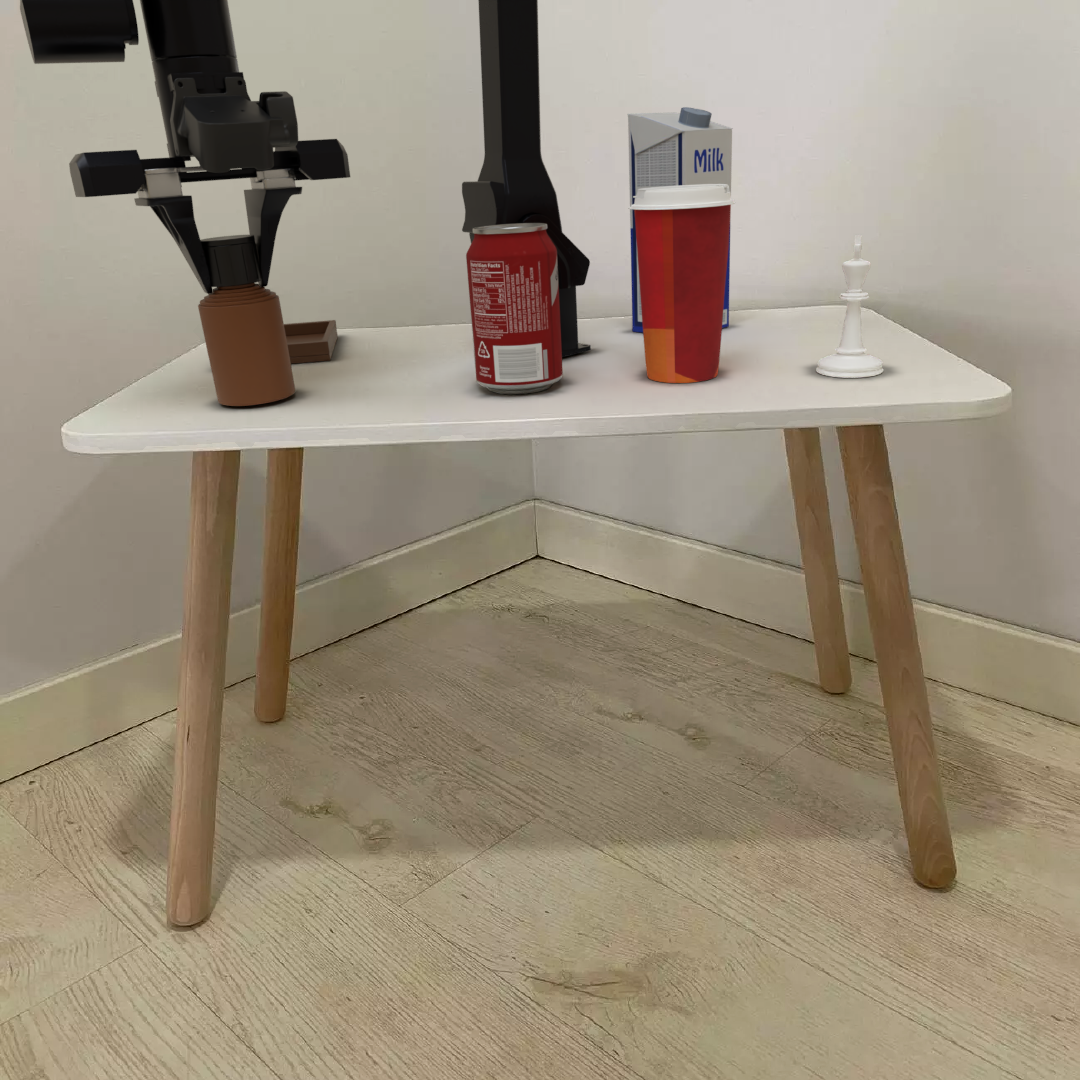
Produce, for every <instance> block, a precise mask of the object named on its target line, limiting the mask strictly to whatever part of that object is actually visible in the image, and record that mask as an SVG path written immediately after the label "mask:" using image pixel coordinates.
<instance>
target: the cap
mask: <svg viewBox="0 0 1080 1080" xmlns="http://www.w3.org/2000/svg"><path fill="white" fill-rule="evenodd" d="M200 240H201V244H202V247H203V251H204V254H205V258H206V261H207V265H208V268H209V272H210V277H211V285H212V288H217V287H228V286H238V285H245V284H251V283H256V284H257V283H258V282H259V281H261V280H262V276H261V271H260V265H259V255H258V249H257V244H256V243H255V238H254V235H250V234H235V235H234V234H233V235H224V236H213V237H208V238H207V237H206V238H203V239H200Z"/></svg>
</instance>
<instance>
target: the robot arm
mask: <svg viewBox="0 0 1080 1080" xmlns="http://www.w3.org/2000/svg"><path fill="white" fill-rule="evenodd" d="M477 2H478V23H479V24H478V25H479V46H480V69H481V71H480V72H481V97H482V119H483V121H482V122H483V142H484V143H483V146H484V157H483V158H484V159H483V163H482V166H481V168H480V172H479V175H478V179H477V181H475V180H474V181H463V182H462V183H461V194H462V195H461V196H462V200H463V205H464V212H465V213H464V222H463V225H462V228H461V231H462V233H467V234H468V233H469V234H468V235H469V241H470V244H471V243H472V241H473V239H474V233H473V228H476V227H481V226H489V225H500V224H517V223H545V224H547V229H546V233H547V235H548V236H549V238H550V239H551V241H552V242H553V244H554V245H555V247H556V249H557V263H558V285H559V306H560V328H561V349H562V358H564V357H568V356H569V357H570V356H573V355H577V354H581V353H584V352H585V353H586V352H589V351H592V346H591V344H587V343H581V342H579V330H578V305H577V304H578V303H577V301H578V300H577V287H581V286H584V285H585V284H586V280H587V277H588V272H589V270H590V269H589V268H590V264H591V261H590V259H589V258H588V257H587V255H586V254H585V253H583V252H582V250H580V249H579V248H578V246H577V245H575V244H574V243H573V241H571V239H570V238H569V237H568V236H567V235H566V234H565V233H564V232H563V227H562V220H561V214H560V207H559V203H558V195H557V191H556V189H555V187H554V185H553V182H552V179H551V177H550V175H549V172H548V171H547V168H546V165H545V163H544V160H543V157H542V147H541V146H542V144H541V141H542V140H541V138H542V137H541V99H540V97H541V96H540V94H541V93H540V48H539V46H540V45H539V43H540V42H539V1H538V0H478V1H477ZM139 4H140V8H141V13H142V19H143V25H144V30H145V35H146V39H147V44H148V48H149V54H150V59H151V65H152V70H153V75H154V86H155V92H156V96H157V98H158V101H159V106H160V111H161V116H162V117H161V118H162V121H163V127H164V132H165V136H166V148H167V152H168V157H155V158H140V155H139V152H138V150H137V149H124V150H105V151H104V150H103V151H88V152H87V151H85V152H81V153H76V154H74V156H73V157H72V158H71V160H70V161H69V163H68V166H69V173H70V178H71V183H72V186H73V190H74V191H73V192H74V195H75V198H93V197H105V196H106V197H108V196H109V197H110V196H120V195H121V196H122V195H134V194H137V196H138V197H136V198H134V204H135V207H150V209H151V210H152V212H153V213H154V214H155V216H156V217H157V218H158V220H159V221H160V222H161V224H162V225H163V226H164V228H165V229H166V231H167V232H168V233H169V235H170V236H171V237H172V240H173V241H174V242H175V245H176V246H177V247H178V249H179V251H180V252H181V254H182V256H183V257H184V259H185V261H186V262H187V264H188V266H189V268H190V270H191V271H192V273H193V275H194V276H195V279H196V280H197V282H198V283H199V285H200V287H201V290H202V291H203V292H204V293H205V294H207V295H208V294H209V293H212V291H213V287H212V285H211V277H210V272H209V268H208V265H207V261H206V258H205V254H204V251H203V247H202V244H201V240H202V239H201V237H200V234H199V229H198V226H197V224H196V219H195V211H194V204H193V196H192V195H189V194H188V195H186V194H185V195H184V194H183V189H182V188H183V186H182V185H183V183H184V184H185V183H197V182H199V183H200V182H211V181H212V182H213V181H224V180H236V179H237V180H241V179H249V180H250V186H251V189H243V196H244V203H245V210H246V218H247V225H248V232H249V235H254V238H255V243H256V244H257V249H258V255H259V265H260V271H261V276H262V280H261V281H259V282H257V284H259V285H260V286H262V287H265V288H266V287H268V285H269V278H270V273H271V267H272V262H273V261H272V260H273V255H274V250H275V249H274V248H275V242H276V237H277V232H278V229H279V225H280V222H281V217H282V214H283V213H284V210H285V208H286V206H287V205H288V202H289V200H290V198H291V197H292V196H296V195H302V194H303V186H297V185H296V181H308V180H309V181H322V180H333V179H347V178H348V179H349V178H351V171H350V170H351V169H350V164H349V163H350V162H349V156H348V155H349V154H348V153H347V151H346V148H345V146H344V145H343V144H342V143H341V142H340V141H339V140H338V138H326V139H325V138H323V139H309V140H308V139H306V140H305V139H304V140H299V124H298V118H297V113H296V107H295V101H294V96H293V95H292V94H290V93H289V92H288V91H285V90H283V91H262V92H260V93H259V98H258V100H251V97H250V95H249V93H248V88H247V82H246V80H245V77H244V72H243V71H240V69H239V68H240V67H239V62H238V57H237V56H238V55H237V50H236V44H235V38H234V31H233V27H232V25H233V24H232V20H231V13H230V7H229V1H228V0H139ZM19 10H20V11H19V12H20V16H21V19H22V24H23V28H24V32H25V36H26V40H27V44H28V48H29V51H30V54H31V58H32V61H33V64H34V65H42V64H43V65H45V64H46V65H47V64H90V63H91V64H92V63H93V64H95V63H97V64H98V63H125V62H126V61H125V60H126V48H127V45H129V46H139V43H140V42H139V41H140V37H139V27H138V20H137V14H136V8H135V5H134V0H19ZM126 44H127V45H126ZM192 158H195V159H196V160H197V162H198V164H199V166H198V165H197V166H186V162H190V161H191V162H192Z"/></svg>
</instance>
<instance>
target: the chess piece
mask: <svg viewBox="0 0 1080 1080" xmlns="http://www.w3.org/2000/svg"><path fill="white" fill-rule="evenodd" d="M862 240H863V235H862V234H855V235H854V245H853V258H850V260H846V261H843V262H842V264H841V267H842V270H843V274H844V278H845V284H846V286H847V289H846V291H845V292H841V293H840V295H839V297H838V298H839V299H840V300H842V301H847V303H846V309H845V316H844V322H843V327H842V331H841V337H840V342H839V345H838V347H835V349H834V350H835V352H836V353H833V354H828V355H826V356H824V357H821V358H820V359H818V361H817V367H816V369H815V371H816V372H817V374H820V375H823V376H826V377H834V378H841V379H842V378H845V379H847V378H848V379H857V378H858V379H859V378H869V377H875V376H878V375H880V374H883V373H884V368H883V364H884V362H883V360H882V359H880V357H877V356H874V355H871V354H868V353H865V352H867V350H868V349H867V348H866V347H864V344H863V343H864V342H863V332H862V330H863V329H862V309H861V307H862V306H861V301H865V300H868V299H870V296H869V293H868V292H866V291H864V290H863V286H864V284H865V282H866V278H867V275H868V273H869V271H870V269H871V265H872V263H871V262H870V261H869V260H866V259H864V258H861V255H862V254H861V253H862V249H863V248H862V247H863V242H862Z"/></svg>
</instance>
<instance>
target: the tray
mask: <svg viewBox="0 0 1080 1080" xmlns="http://www.w3.org/2000/svg"><path fill="white" fill-rule="evenodd" d="M284 329H285V334H286V340H287V346H288V351H289V357H290V362H291V365H293V364H303V363H304V364H305V363H316V362H327V361H331V358H332V356H333V353H334V349H335V346H336V343H337V340H338V337H339V335H338V329H337V320H336V319H330V320H318V321H305V322H304V321H303V322H293V323H284Z"/></svg>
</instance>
